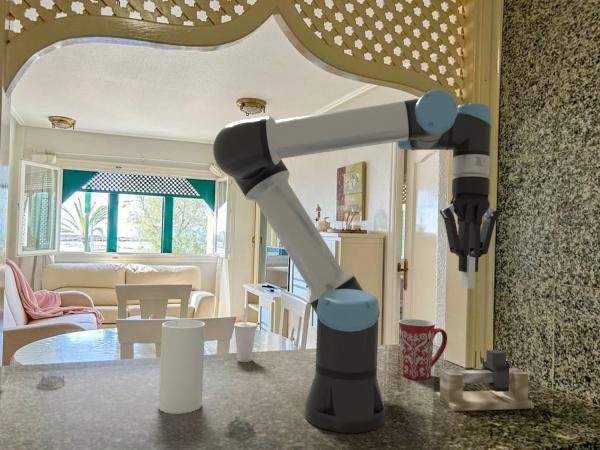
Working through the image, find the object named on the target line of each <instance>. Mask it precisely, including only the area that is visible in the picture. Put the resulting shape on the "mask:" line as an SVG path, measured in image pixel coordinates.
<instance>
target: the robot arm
mask: <svg viewBox="0 0 600 450" xmlns="http://www.w3.org/2000/svg"><path fill="white" fill-rule="evenodd" d="M491 112H492V111H491V109H490V107H489V106H488V105H487V104H485V103H481V102H470V103H462V104H459V105H458V104H457V100H456V98H455V97H454V96H453V95H452V93H451V94H450V93H449V92H448V91H445V90H443V89H432V90H429V91H427V92H425V93H424V94H423V95H422V96H420V97H419V98H413V99H409V100H403V101H396V102H390V103H384V104H377V105H370V106H369V105H368V106H363V107H356V108H349V109H343V110H338V111H331V112H330V111H329V112H324V113H323V112H322V113H317V114H310V115H309V114H308V115H304V116H295V117H291V118H284V119H278V120H276V119H274V118H273V117H272V116H263V117H256V118H249V119H242V120H239V121H238V120H237V121H234V122H232V123H229V124H227V125H226V126H224V127H223V128H222V129H220V131H219V132H218V133H217V135H216V137H215V139H214V141H213V146H212V147H213V148H212V149H213V150H212V152H213V158H214V160H215V162H216V165H217V166H218V168H219V169H220V170H221V171H222V172H223V173H225V174H226V175H228V176H229V177H232V178H233V180H234V181H235V182H236V184H237V186H238V187H239V189H240V191H241V193H242V194H243V196H244V197H245V199H246V200H248V201H253V202H255V203H256V205H257V206H258V208H259V209H260V211H261V212H262V214H263V216H264V218H265V219H266V220H267V222H268V223H269V225H270V227H271V229H272V230H273V231H274V234H275V235H276V237H277V238H278V240H279V242H280V244H281V245H282V247H283V248H284V250H285V251H286V253H287V255H288V257H289V258H290V260H291V262H292V263H293V265H294V267H295V268H296V270H297V272H299V273H298V274H299V275H300V277H301V278H302V279H303V281H304V283H305V284H306V286H307V288H308V289H309V291H310V296H309V301H308V302H309V304H310V306H311V307H312V309H313V310H314V312H315V314H316V317H317V318H316V323H317V324H316V345H315V347H316V348H315V372H314V373H315V374H314V376H313V379H312V382H311V385H310V388H309V391H308V392H307V393H308V394H307V396H306V399H305V402H304V403H305V404H304V417H305V419H306V420H307V421H308V422H309V423H310V424H312V425H314V426H316V427H318V428H321V429H324V430H327V431H332V432H337V433H348V434H357V433H358V434H359V433H360V434H361V433H367V432H372V431H375V430H377V429H379V428H381V427H382V426H383V425H384V424H385V421H386V407H385V406H386V405H385V403H384V400H383V396H382V393H381V389H380V386H379V382H378V376H377V373H378V345H379V344H378V341H379V339H378V338H379V318H380V313H381V311H380V306H379V301H378V298H377V296H375V295H374V294H373V293H371V292H367V291H365V290H364V289H363V287H362V286H361V284H360V283H359V282H358V280H357V278H356V276H355V275H354V274H353V273H350V272H345V271H344V270H343V269H342V267H341V265H340V264H339V261H338V260H337V259H336V257H335V255H334V254H333V253H332V251H331V249H330V248H329V246H328V244H327V243H326V241H325V240H324V238H323V237H322V235H321V233H320V232H319V230H318V228H317V227H316V225H315V224H314V222H313V220H312V219H311V217H310V216H309V213H308V212H307V211H306V209H305V207H304V206H303V204H302V203H301V201H300V199H299V197H298V196H297V194H296V193H295V192H294V190H293V188H292V186H291V185H290V183H289V179H290V171H289V169H288V167H287V166H286V164H285V163H284V161H283V159H288V158H296V157H302V156H309V155H316V154H322V153H328V152H335V151H343V150H349V149H355V148H356V149H357V148H362V147H363V148H364V147H369V146H370V147H371V146H376V145H377V146H378V145H383V144H384V145H385V144H390V143H396V144H397V147H398V148H399V149H400V150H409V151H443V150H444V151H452V173H451V175H452V177H453V179H452V180H451V181H452V182H451V194H452V198H451V200H450V202H449V203H450V204H449V205H448V206H446V207H445V208H444V207H443V208H440V209H439V213H440V215H441V217H442V219H443V221H444V226H445V232H446V237H447V241H448V242H447V243H448V246H449V247H448V248H449V251H450V253H451V254H455V255H456V256H457V257H458V271H459V272H460V273H461V279H460V280H461V283H460V284H461V285H460V286H461V288H466V289H475V286H476V285H475V283H476V281H475V280H476V273H477V272H478V271H479V261H480V260H479V259H480V258H481V257H482V256H484V255H488V253H489V250H490V249H489V248H490V244H491V241H492V236H493V233H494V232H493V231H494V228H495V224H496V221H497V220H498V218H499V216H500V214H501V212H500V211H499V210H496V209H493V208H492V207H491V203H490V201H489V195H490V179H489V177H488V176H489V175H490V166H491V165H490V164H491V163H490V162H491V136H492V116H491V115H492V114H491ZM454 215H456V217H457V222H456V219H455V216H454ZM483 217H484V220H483ZM457 225H458V226H457ZM481 226H482V227H481ZM457 227H458V229H457Z"/></svg>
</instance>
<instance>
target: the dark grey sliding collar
mask: <svg viewBox="0 0 600 450" xmlns="http://www.w3.org/2000/svg"><path fill="white" fill-rule="evenodd" d="M485 356H486V359H485V361H482V370H493V371H494V382H490V383H481V384H482V385H483V386H485V387H487V388H489V389H490V390H491V391H495V392H505V391H509V368H510V367H509V366H507V365H506V364H507V363H506V361H507V353H506V352H505V351H502V350H500V349H486V354H485Z"/></svg>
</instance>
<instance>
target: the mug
mask: <svg viewBox="0 0 600 450" xmlns="http://www.w3.org/2000/svg"><path fill="white" fill-rule="evenodd" d="M398 325H399V348H400V373H401V376H402V377H404V378H407V379H411V380H419V381H421V380H428V379H430V378H431V376H432V368H433V366H434V365H436V363H437V362H438V361H439V359H440V358H441V357H442V355H443V353H444V351H445V349H446V347H447V345H448V334H447V332H446V331H445V330H444V329H443V328H440V327H435V326H436V323H435V322H434V321H431V320H427V319H419V318H404V319H400V320H398ZM438 333H441V337H442V338H441V339H442V340H441V344H440V345H439V348H438V350H437V351H436V353H435V354H434V356H433V349H434V340H435V338H436V336H437V334H438Z"/></svg>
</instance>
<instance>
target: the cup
mask: <svg viewBox="0 0 600 450" xmlns="http://www.w3.org/2000/svg"><path fill="white" fill-rule="evenodd" d="M205 332H206V324H205V322H204V321H201V320H196V319H195V320H194V319H178V320H176V319H175V320H174V319H173V320H169V321H165V322H162V324H161V341H160V342H161V343H160V344H161V345H160V365H159V367H160V368H159V385H158V386H159V389H158V409H160V410H159V411H161V412H162V411H163V413H166V414H172V415H179V414H181V415H182V413H183V414H189V413H193V412H195V410H196V411H198V410H199V409H200V408H202V405H203V385H204V363H205V361H204V359H205V338H206V336H205V335H206V333H205ZM197 409H198V410H197ZM192 411H193V412H192ZM188 412H189V413H188Z"/></svg>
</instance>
